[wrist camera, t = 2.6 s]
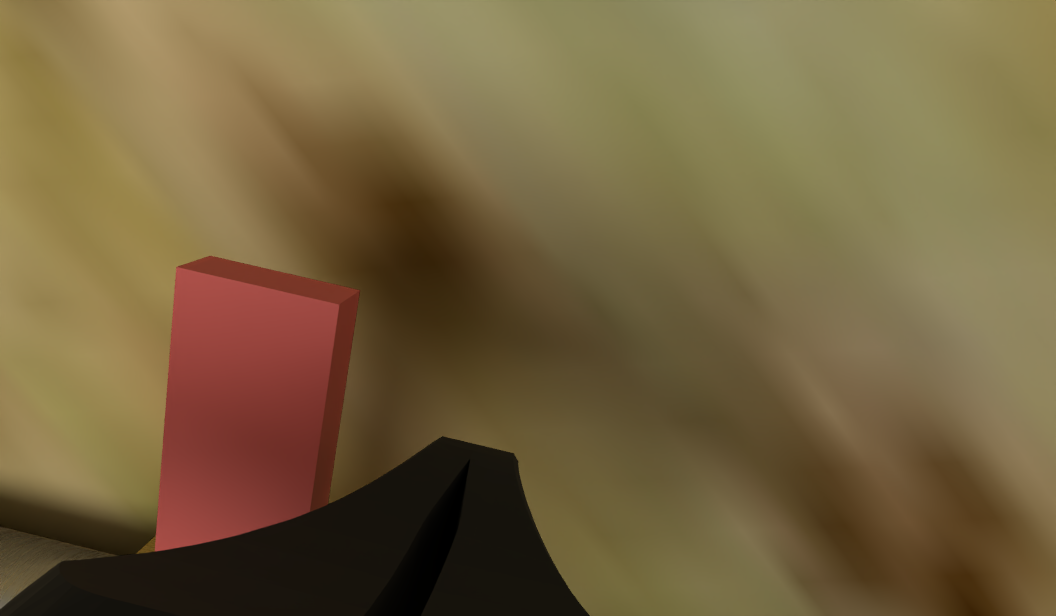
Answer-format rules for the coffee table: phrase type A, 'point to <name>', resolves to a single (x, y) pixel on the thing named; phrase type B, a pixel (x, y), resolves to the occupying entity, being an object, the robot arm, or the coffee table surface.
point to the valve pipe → (37, 559)
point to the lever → (250, 399)
